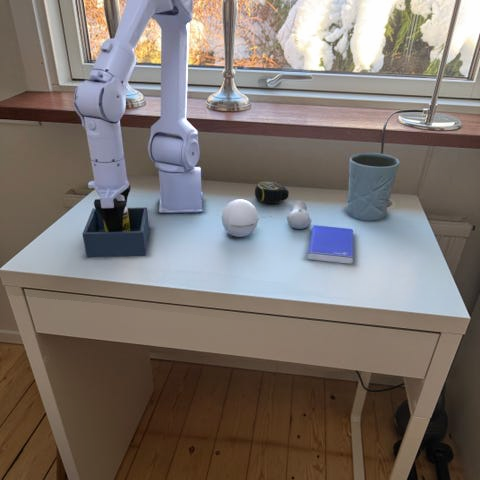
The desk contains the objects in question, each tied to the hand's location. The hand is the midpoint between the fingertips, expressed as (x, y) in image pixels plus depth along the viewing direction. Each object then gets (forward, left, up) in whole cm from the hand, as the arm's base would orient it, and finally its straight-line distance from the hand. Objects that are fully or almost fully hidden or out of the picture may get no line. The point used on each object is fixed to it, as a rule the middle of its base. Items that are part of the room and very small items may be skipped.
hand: (118, 229), depth 89 cm
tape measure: (-33, -21, -3) cm, 39 cm away
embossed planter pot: (-53, -12, -3) cm, 54 cm away
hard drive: (-41, +4, -3) cm, 41 cm away
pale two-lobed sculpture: (-37, -7, -3) cm, 38 cm away
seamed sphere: (-25, -2, -3) cm, 25 cm away
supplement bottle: (0, 0, -2) cm, 2 cm away
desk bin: (0, 0, -3) cm, 3 cm away
